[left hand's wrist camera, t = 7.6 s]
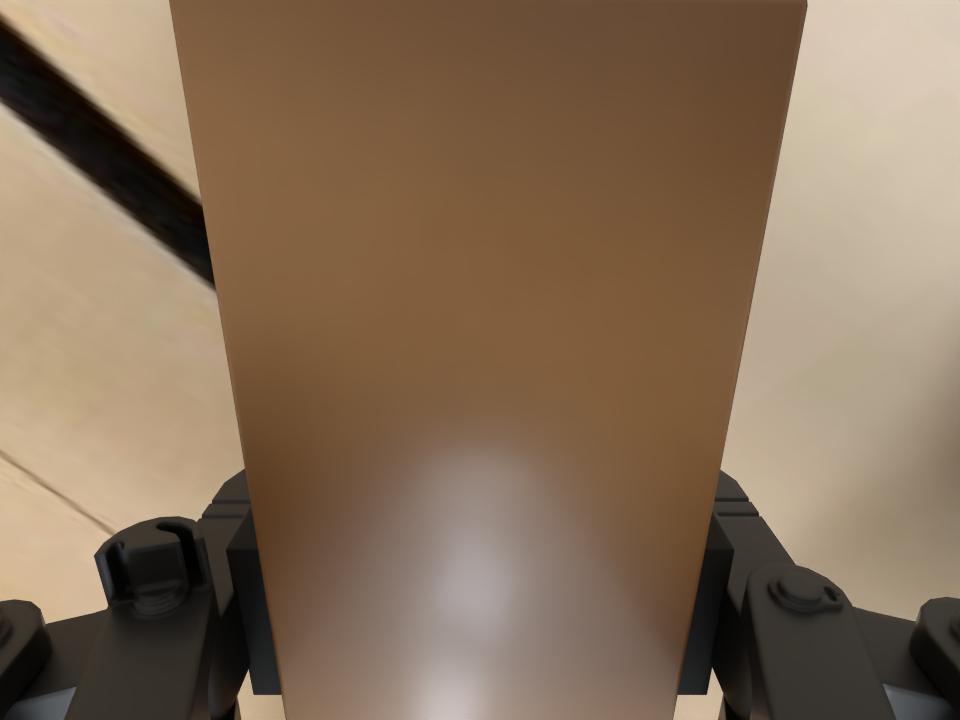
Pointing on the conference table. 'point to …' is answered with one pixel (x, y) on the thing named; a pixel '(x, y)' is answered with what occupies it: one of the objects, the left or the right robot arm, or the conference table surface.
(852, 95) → the conference table surface
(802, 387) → the conference table surface
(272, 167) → the beam
